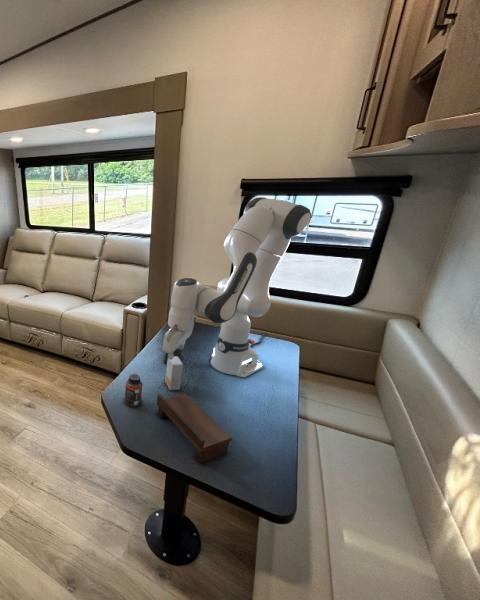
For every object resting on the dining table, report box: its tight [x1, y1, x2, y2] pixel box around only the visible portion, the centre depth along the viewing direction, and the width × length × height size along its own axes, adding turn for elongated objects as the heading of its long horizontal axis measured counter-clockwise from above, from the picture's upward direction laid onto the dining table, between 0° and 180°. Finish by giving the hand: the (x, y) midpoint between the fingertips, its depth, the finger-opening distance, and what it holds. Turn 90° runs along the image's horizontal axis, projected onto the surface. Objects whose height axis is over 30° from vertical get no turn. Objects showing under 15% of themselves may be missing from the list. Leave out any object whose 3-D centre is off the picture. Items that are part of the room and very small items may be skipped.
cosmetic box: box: [164, 356, 184, 391], centre depth 125 cm, size 6×4×12 cm
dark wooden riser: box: [156, 393, 233, 464], centre depth 103 cm, size 12×22×9 cm, turn 21°
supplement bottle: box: [124, 373, 143, 408], centre depth 116 cm, size 6×6×11 cm
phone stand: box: [163, 348, 182, 365], centre depth 143 cm, size 9×6×12 cm, turn 156°
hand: (175, 353), depth 122 cm, fingers open, 8 cm apart
